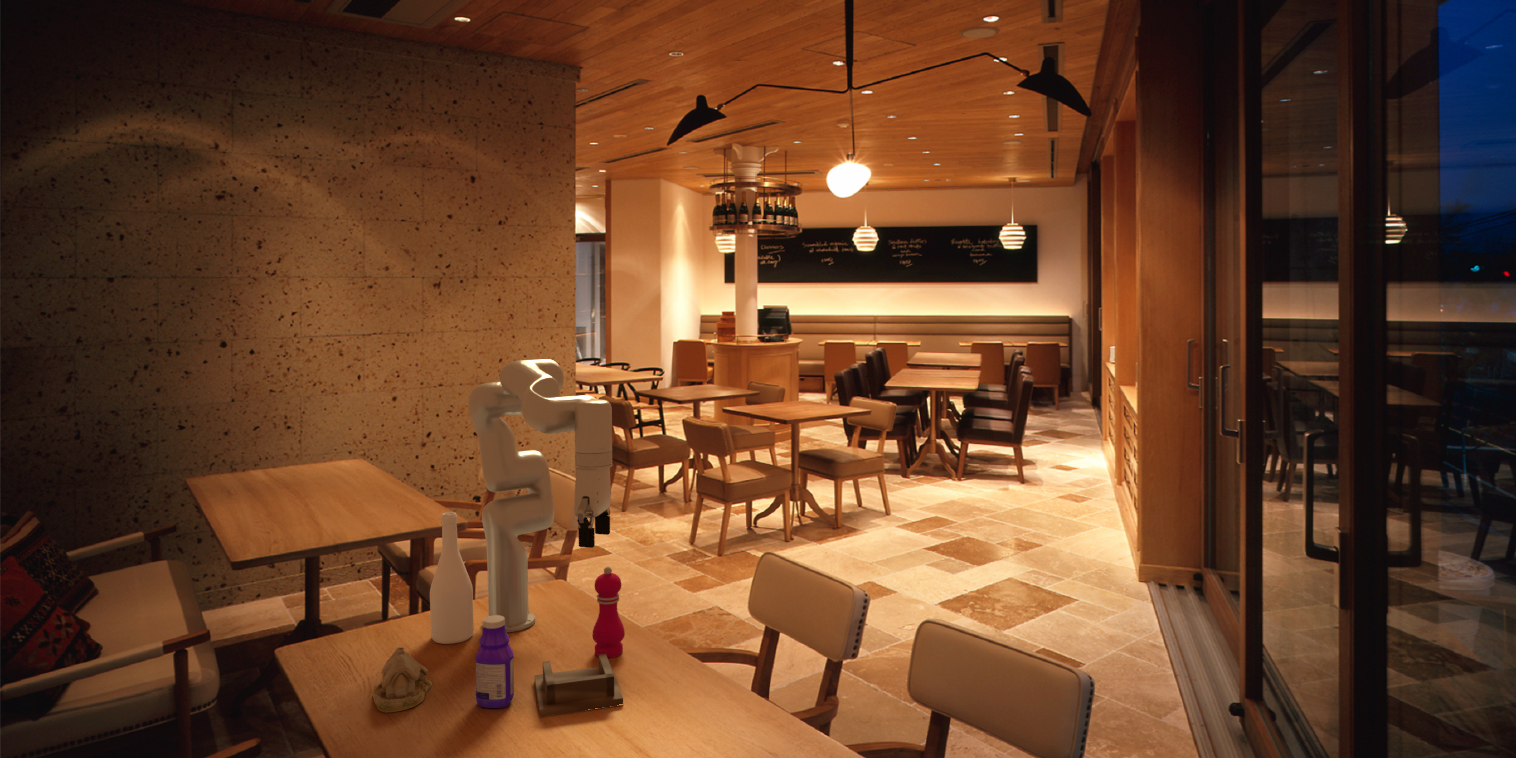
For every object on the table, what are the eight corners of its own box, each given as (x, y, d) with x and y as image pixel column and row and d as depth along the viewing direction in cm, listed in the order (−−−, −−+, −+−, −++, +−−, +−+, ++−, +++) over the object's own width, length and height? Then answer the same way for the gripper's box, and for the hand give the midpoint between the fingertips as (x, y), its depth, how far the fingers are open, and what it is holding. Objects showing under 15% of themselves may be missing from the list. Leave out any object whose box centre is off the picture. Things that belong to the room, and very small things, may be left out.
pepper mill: (621, 659, 191) (620, 572, 189) (589, 659, 191) (588, 571, 189) (627, 646, 198) (626, 562, 196) (596, 646, 198) (595, 561, 197)
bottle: (518, 697, 172) (516, 613, 171) (507, 711, 167) (505, 624, 165) (483, 695, 173) (481, 612, 172) (471, 709, 167) (469, 622, 166)
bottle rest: (534, 681, 179) (534, 656, 179) (611, 672, 184) (610, 647, 184) (539, 717, 164) (539, 689, 164) (623, 705, 169) (622, 678, 169)
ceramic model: (373, 686, 178) (372, 639, 177) (431, 677, 182) (430, 632, 181) (370, 717, 164) (368, 666, 164) (432, 707, 169) (431, 658, 168)
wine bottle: (429, 633, 205) (425, 510, 203) (471, 627, 209) (468, 506, 207) (432, 648, 197) (428, 520, 194) (476, 641, 201) (472, 515, 198)
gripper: (590, 451, 186) (591, 528, 188) (560, 466, 169) (562, 551, 171) (624, 452, 185) (624, 530, 187) (597, 468, 168) (598, 553, 170)
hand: (594, 540), depth 179 cm, fingers open, 9 cm apart
